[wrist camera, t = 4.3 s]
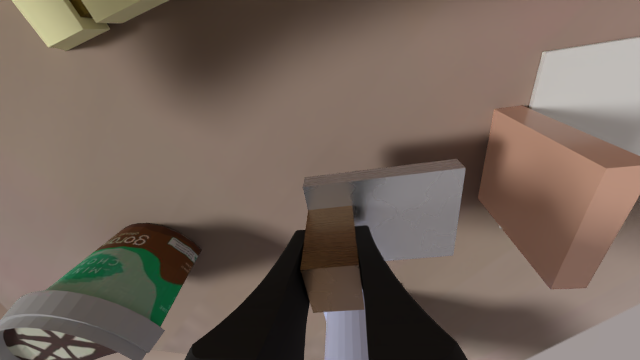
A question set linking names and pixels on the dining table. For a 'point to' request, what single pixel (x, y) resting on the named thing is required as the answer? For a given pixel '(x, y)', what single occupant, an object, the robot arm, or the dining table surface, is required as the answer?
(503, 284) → the dining table surface
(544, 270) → the tile
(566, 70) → the mat
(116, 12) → the slatted curved stool
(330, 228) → the turner
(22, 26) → the dining table surface
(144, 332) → the food container
